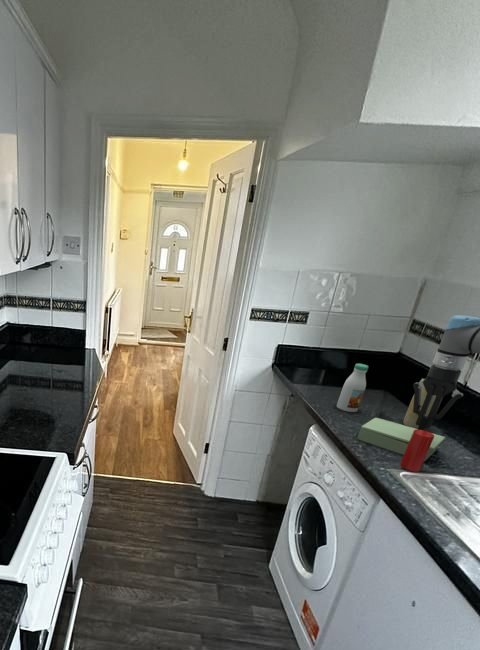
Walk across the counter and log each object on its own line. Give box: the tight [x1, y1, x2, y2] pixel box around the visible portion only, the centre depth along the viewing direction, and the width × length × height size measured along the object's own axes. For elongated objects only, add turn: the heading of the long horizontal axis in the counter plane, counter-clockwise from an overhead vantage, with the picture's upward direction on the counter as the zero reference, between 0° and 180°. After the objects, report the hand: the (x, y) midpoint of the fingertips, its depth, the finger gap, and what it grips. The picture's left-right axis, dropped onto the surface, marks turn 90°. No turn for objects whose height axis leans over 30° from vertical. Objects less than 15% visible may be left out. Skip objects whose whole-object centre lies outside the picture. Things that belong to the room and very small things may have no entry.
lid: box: [360, 417, 446, 450], centre depth 140 cm, size 21×14×1 cm, turn 40°
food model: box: [403, 378, 437, 429], centre depth 156 cm, size 10×7×20 cm
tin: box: [399, 430, 434, 473], centre depth 127 cm, size 5×5×12 cm
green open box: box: [356, 427, 438, 463], centre depth 142 cm, size 20×14×5 cm
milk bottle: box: [336, 363, 369, 413], centre depth 168 cm, size 8×8×20 cm
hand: (418, 435), depth 137 cm, fingers closed
